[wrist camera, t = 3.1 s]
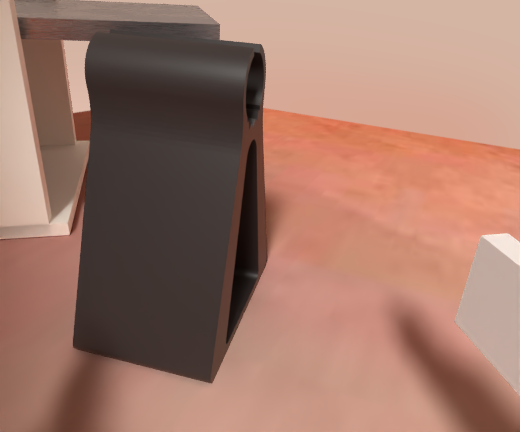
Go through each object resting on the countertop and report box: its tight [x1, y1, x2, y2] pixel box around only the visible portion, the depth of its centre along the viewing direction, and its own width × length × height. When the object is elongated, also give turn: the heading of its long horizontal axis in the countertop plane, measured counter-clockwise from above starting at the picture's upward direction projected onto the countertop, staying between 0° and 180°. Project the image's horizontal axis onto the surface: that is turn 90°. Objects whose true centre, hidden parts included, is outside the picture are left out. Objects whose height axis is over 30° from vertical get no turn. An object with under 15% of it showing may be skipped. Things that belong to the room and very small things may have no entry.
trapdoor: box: [14, 0, 220, 41], centre depth 27 cm, size 21×11×4 cm, turn 103°
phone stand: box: [73, 29, 267, 383], centre depth 20 cm, size 9×6×12 cm, turn 165°
